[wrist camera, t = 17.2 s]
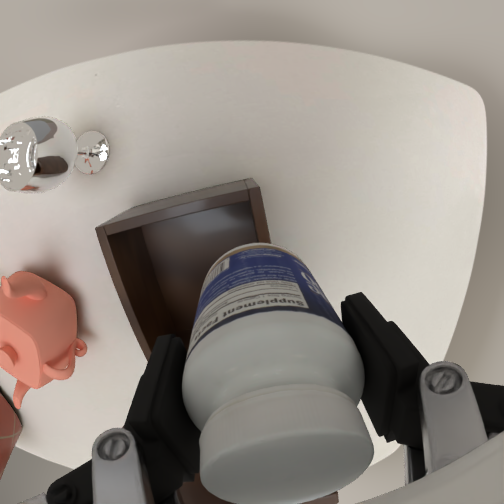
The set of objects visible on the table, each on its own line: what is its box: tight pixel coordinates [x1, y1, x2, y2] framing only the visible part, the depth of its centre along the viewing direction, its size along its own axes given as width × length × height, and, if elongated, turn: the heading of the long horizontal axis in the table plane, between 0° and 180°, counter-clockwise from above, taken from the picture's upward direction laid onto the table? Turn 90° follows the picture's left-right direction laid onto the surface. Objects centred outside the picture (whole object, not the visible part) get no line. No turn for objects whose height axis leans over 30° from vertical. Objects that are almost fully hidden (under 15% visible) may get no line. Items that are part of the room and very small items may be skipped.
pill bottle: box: [182, 243, 374, 504], centre depth 10 cm, size 5×5×10 cm
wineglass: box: [0, 116, 110, 193], centre depth 19 cm, size 6×6×12 cm
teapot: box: [0, 271, 87, 409], centre depth 25 cm, size 14×14×11 cm
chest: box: [95, 178, 271, 361], centre depth 25 cm, size 15×12×8 cm
